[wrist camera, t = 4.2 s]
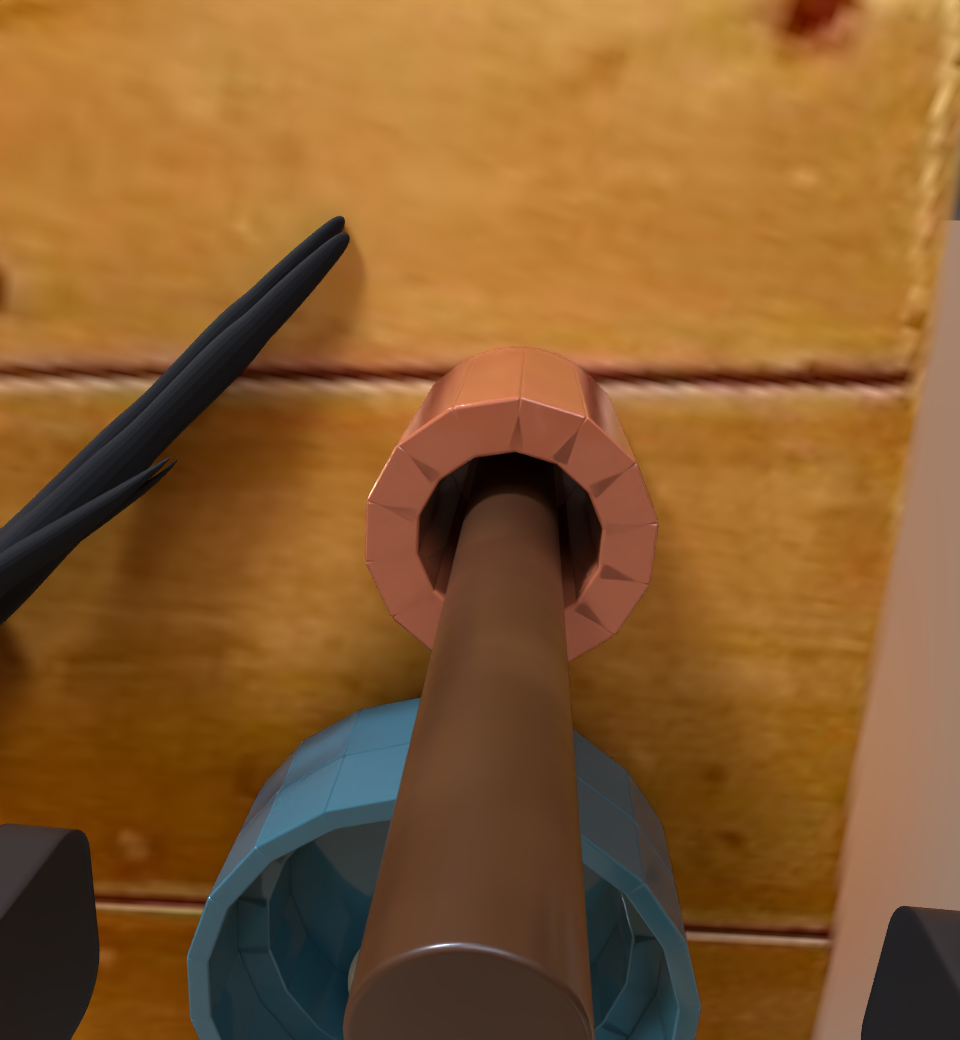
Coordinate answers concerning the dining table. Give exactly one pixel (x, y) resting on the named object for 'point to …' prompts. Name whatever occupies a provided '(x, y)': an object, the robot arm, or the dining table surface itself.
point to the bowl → (352, 878)
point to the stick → (486, 801)
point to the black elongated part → (155, 423)
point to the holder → (529, 431)
